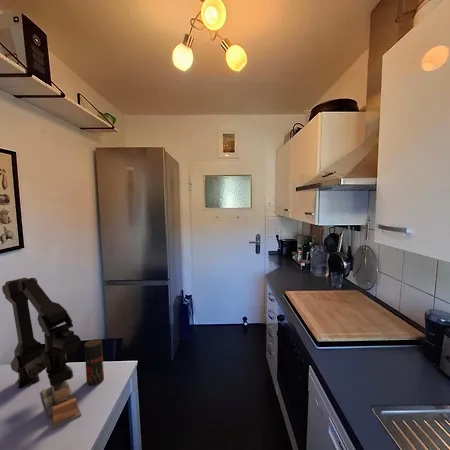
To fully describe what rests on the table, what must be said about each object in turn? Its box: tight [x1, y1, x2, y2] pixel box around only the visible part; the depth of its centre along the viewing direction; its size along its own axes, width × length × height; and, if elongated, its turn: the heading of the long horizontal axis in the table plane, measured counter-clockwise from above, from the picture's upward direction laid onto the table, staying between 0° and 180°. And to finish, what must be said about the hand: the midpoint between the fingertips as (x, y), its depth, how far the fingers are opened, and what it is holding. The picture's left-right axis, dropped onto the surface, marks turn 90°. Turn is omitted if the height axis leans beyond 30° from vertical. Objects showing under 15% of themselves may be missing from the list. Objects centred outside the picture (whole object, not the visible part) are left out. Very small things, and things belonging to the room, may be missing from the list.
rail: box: [41, 380, 82, 430], centre depth 91 cm, size 22×8×5 cm, turn 41°
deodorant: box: [84, 338, 105, 387], centre depth 102 cm, size 6×6×15 cm
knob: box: [49, 381, 73, 407], centre depth 90 cm, size 4×6×6 cm, turn 131°
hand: (58, 389), depth 93 cm, fingers closed
